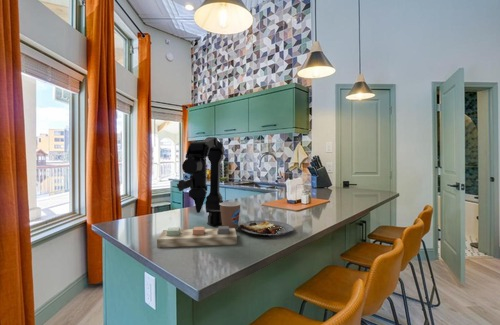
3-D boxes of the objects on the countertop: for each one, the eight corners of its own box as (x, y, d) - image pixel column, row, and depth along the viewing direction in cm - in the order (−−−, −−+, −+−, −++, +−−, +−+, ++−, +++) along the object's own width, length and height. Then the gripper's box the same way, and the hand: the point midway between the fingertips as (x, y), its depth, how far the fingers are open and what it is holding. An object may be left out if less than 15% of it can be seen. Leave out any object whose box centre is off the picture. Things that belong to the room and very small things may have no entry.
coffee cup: (234, 232, 113) (234, 206, 113) (215, 229, 117) (215, 204, 117) (244, 227, 122) (244, 202, 122) (226, 224, 127) (226, 201, 126)
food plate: (264, 242, 100) (264, 233, 100) (229, 230, 117) (229, 222, 117) (302, 232, 117) (302, 224, 117) (266, 223, 134) (266, 216, 134)
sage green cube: (179, 235, 103) (179, 227, 103) (178, 239, 99) (178, 230, 99) (168, 236, 103) (168, 227, 103) (166, 239, 98) (166, 230, 98)
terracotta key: (204, 235, 105) (204, 226, 104) (204, 238, 100) (204, 229, 100) (193, 235, 104) (193, 227, 104) (192, 238, 100) (192, 230, 100)
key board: (234, 234, 110) (234, 228, 110) (236, 244, 98) (236, 236, 98) (163, 237, 106) (163, 230, 106) (156, 247, 94) (156, 239, 94)
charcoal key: (228, 234, 106) (228, 226, 106) (229, 237, 101) (229, 228, 101) (218, 234, 105) (218, 226, 105) (218, 237, 101) (218, 229, 101)
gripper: (181, 171, 110) (181, 207, 110) (174, 174, 91) (174, 217, 92) (207, 171, 111) (207, 206, 112) (205, 174, 93) (205, 216, 93)
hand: (198, 211), depth 102 cm, fingers open, 6 cm apart
